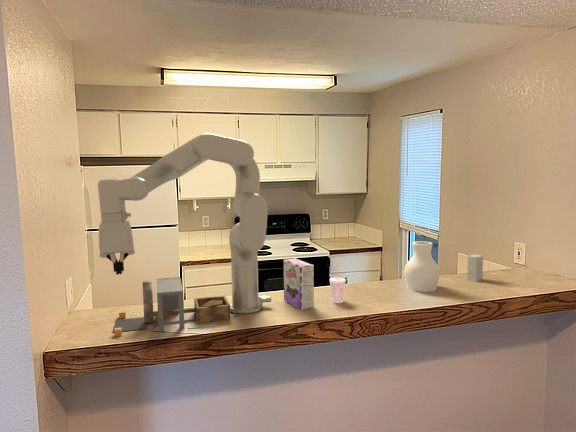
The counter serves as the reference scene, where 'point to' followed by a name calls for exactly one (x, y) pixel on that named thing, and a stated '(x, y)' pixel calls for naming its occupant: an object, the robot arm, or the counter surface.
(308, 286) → the candy box
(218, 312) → the wooden tray with post
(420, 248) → the vase
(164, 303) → the tunnel
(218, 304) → the shard
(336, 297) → the beverage cup
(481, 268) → the skincare box
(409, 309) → the counter surface
